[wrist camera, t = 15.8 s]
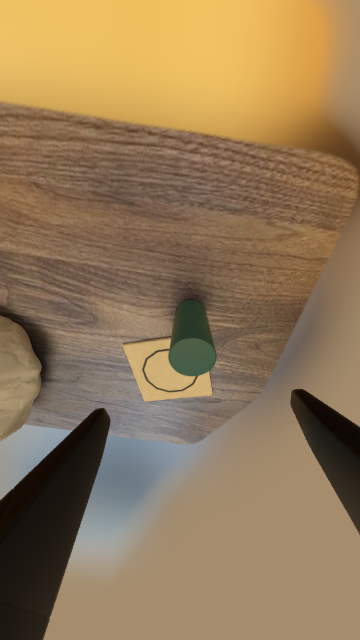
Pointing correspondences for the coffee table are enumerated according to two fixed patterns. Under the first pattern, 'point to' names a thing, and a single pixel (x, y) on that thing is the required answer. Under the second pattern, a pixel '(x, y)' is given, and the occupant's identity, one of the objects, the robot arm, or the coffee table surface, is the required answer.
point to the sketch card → (162, 372)
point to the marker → (191, 340)
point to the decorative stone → (16, 377)
